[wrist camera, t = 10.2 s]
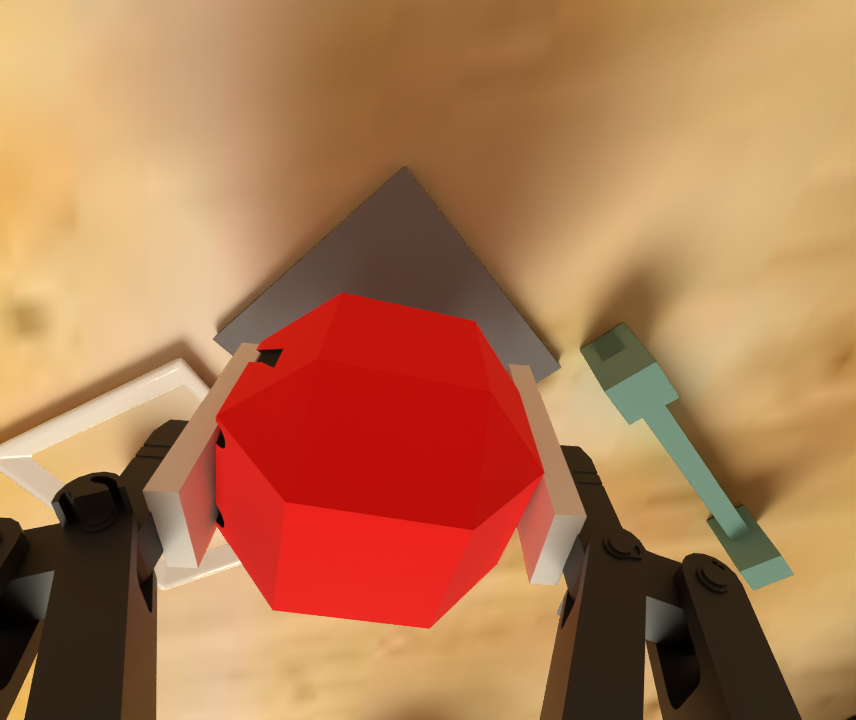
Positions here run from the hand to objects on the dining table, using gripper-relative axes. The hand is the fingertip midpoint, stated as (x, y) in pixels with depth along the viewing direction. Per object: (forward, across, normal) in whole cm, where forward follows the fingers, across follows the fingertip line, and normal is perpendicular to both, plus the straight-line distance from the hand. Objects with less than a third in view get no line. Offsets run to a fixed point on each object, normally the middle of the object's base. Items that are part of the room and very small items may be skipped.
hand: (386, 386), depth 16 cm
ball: (0, 0, 0) cm, 0 cm away
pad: (+3, 0, 0) cm, 3 cm away
